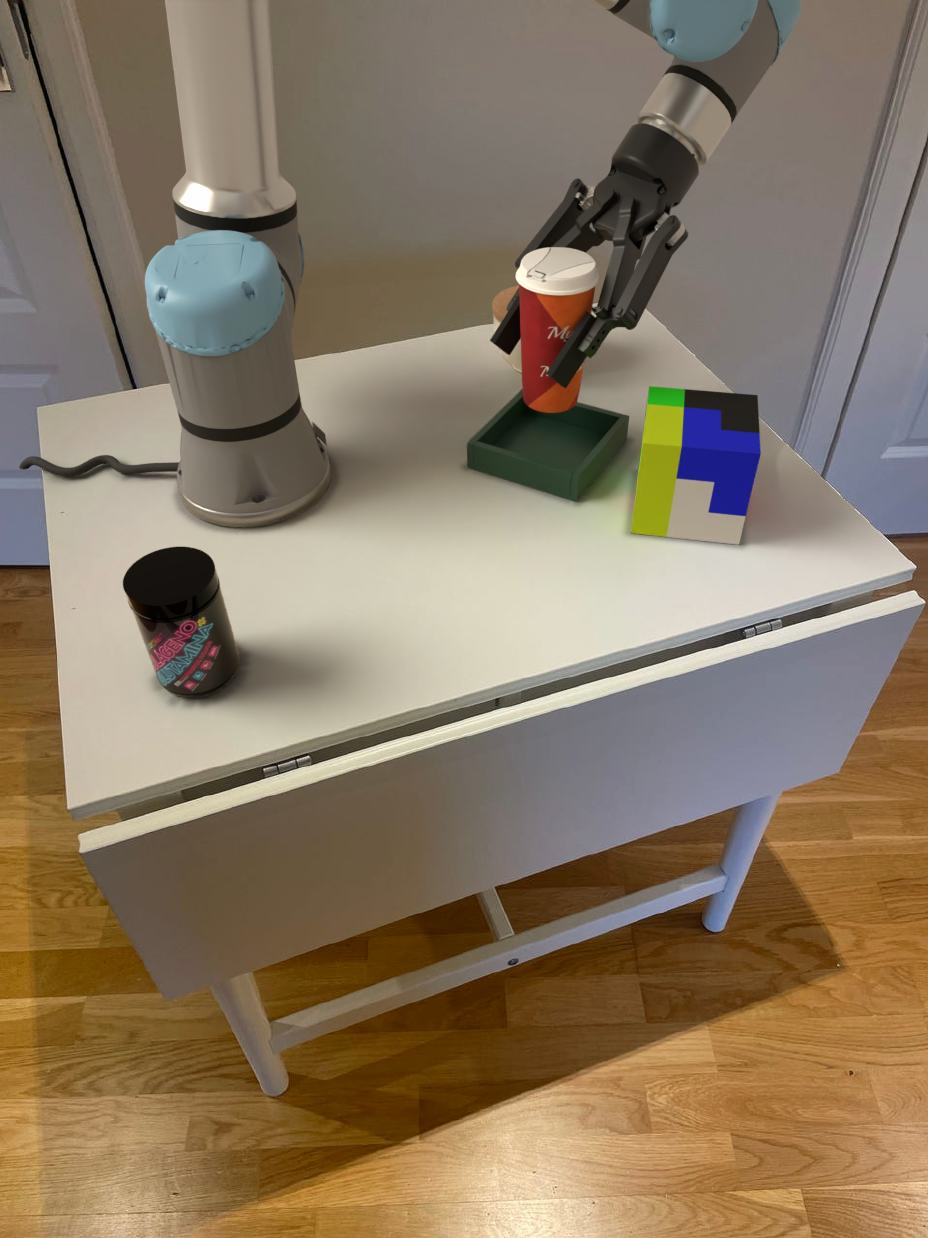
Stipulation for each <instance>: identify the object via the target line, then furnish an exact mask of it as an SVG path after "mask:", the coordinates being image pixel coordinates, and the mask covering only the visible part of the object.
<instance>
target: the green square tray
mask: <svg viewBox="0 0 928 1238" xmlns="http://www.w3.org/2000/svg"><path fill="white" fill-rule="evenodd" d="M629 423H630V415H627V414H624V413H620V412H616V411H612V410H608V409H606V408H602V407H597V406H594V405H590V404H586V403H583V402H579V401H577V403H576V404H575V406H574V407H572V408H571V409H569V410H566V411H563V412H557V413H546V412H540V411H537V410H534V409H532V408H530V407H529V406H528V405H527V404H526V403H525V402H524V399H523V388H521V389H520V390H519V391H518V393H516V394H515V395H514V396H513V397H512V398H511V399H510V400H509V401H508V402H507V403H506V404H505V405H504V406H503V407H502V408H500V410H499V411H497V413H496V414H494V415H493V417H491V419H490V420H489V421H488V422H486V423H485V424H484V425H483V426H482V427H481V428H480V429H479V430H478V431H477V432H476V433H475V434H474V435H473V436H472V437H471V438H470V439H469V440H468V441H467V442H466V465H467V469H470V470H473V471H475V472H479V473H482V474H486V475H488V476H493V477H496V478H498V479H502V480H505V481H508V482H512V483H514V484H518V485H521V486H524V487H527V488H531V489H534V490H537V491H539V492H542V493H547V494H550V495H553V496H556V497H559V498H562V499H566V500H569V501H572V502H575V503H578V502H579V501H580V500H581V498H582V497H583V496H584V494H585V493H586V492H587V490H588V489H589V488H590V487H591V486H592V485H593V483H594V482H595V481H596V479H598V477H599V476H600V474H601V473H602V472H603V471H604V470H605V468H607V466H608V464H610V462H611V461H612V460H613V458H614V457H615V456H616V455H617V453H618V452H619V451H620V450H621V448H622V447H623V446H624V445H625V444H626V442H627V439H628V432H629Z"/></svg>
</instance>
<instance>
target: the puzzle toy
mask: <svg viewBox="0 0 928 1238" xmlns="http://www.w3.org/2000/svg"><path fill="white" fill-rule="evenodd" d="M759 413H760V412H759V397H758V394H749V393H736V392H726V391H725V392H724V391H713V390H703V389H702V390H700V389H689V388H688V389H687V388H676V387H663V386H652V385H650V386H649V387H648V394H647V401H646V409H645V417H644V423H643V432H642V439H641V445H640V446H641V447H640V453H639V461H638V469H637V475H636V485H635V493H634V503H633V511H632V520H631V527H630V534H635V535H643V536H653V537H654V536H655V537H662V538H673V539H682V540H691V541H698V542H699V541H700V542H709V543H717V544H727V545H738V546H739V545H740V543H741V542H740V541H741V538H742V533H743V530H744V525H745V522H746V517H747V513H748V509H749V505H750V500H751V497H752V491H753V488H754V484H755V480H756V476H757V473H758V472H757V471H758V468H759V463H760V459H761V455H762V451H761V449H762V448H761V434H760V433H761V432H760V431H761V429H760V416H759Z"/></svg>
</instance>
